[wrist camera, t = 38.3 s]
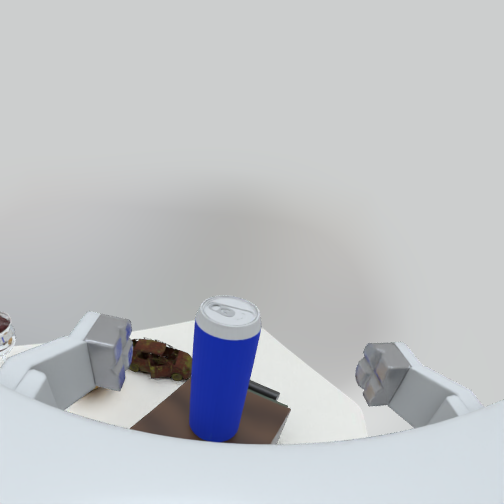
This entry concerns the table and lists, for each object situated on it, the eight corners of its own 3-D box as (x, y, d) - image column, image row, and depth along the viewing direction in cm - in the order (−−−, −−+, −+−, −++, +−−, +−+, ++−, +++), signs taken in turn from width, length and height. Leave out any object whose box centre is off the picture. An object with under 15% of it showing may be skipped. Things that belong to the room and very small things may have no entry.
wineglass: (32, 397, 31) (10, 335, 27) (-3, 399, 27) (-30, 338, 23) (31, 368, 36) (13, 309, 32) (-1, 371, 32) (-22, 312, 28)
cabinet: (197, 412, 39) (201, 367, 36) (273, 449, 34) (291, 408, 31) (134, 472, 26) (122, 433, 23) (222, 526, 21) (231, 502, 18)
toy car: (120, 374, 42) (117, 352, 41) (132, 350, 49) (131, 329, 47) (189, 389, 43) (191, 368, 42) (195, 363, 50) (197, 342, 48)
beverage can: (244, 419, 29) (272, 305, 24) (226, 452, 24) (250, 337, 19) (202, 402, 30) (215, 287, 25) (180, 432, 25) (183, 312, 20)
